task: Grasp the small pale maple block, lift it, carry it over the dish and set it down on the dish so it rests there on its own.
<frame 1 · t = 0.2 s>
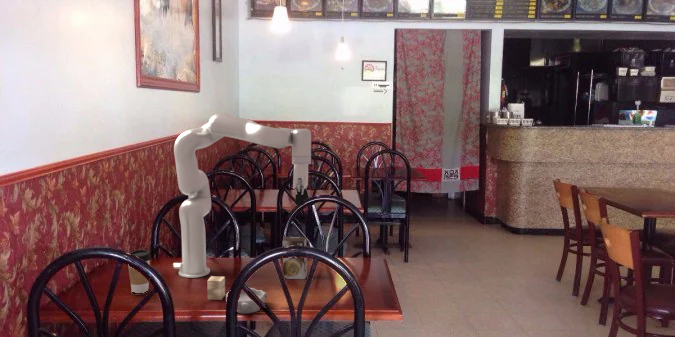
hand: (301, 202, 219), 31 cm above the table, fingers open, 9 cm apart
dish: (246, 307, 191), on the table
maple block: (216, 297, 200), on the table
coffee cup: (140, 291, 205), on the table
coffee box: (295, 277, 224), on the table
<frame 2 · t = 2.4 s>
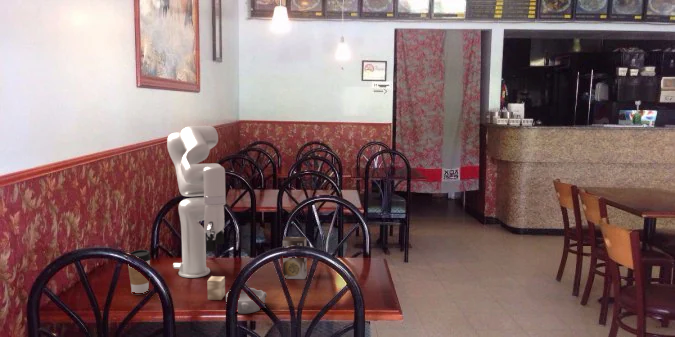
hand: (215, 247, 197), 19 cm above the table, fingers open, 9 cm apart
nothing on the table moved.
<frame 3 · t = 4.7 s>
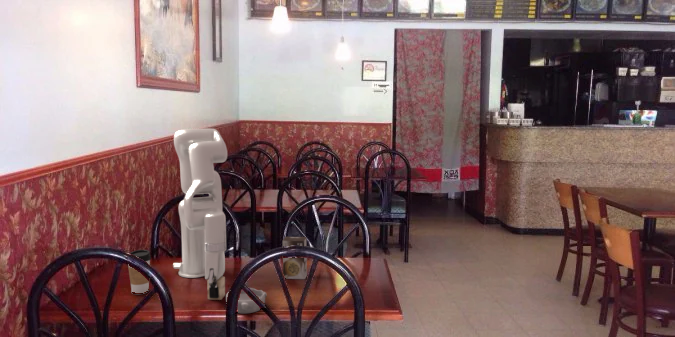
hand: (216, 294, 200), 1 cm above the table, fingers closed on maple block, 5 cm apart
maple block: (216, 297, 200), on the table, touching gripper
everything else where it was.
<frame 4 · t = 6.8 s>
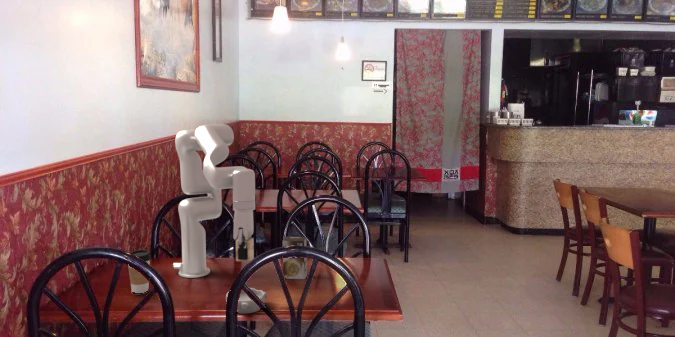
hand: (244, 256, 189), 18 cm above the table, fingers closed on maple block, 5 cm apart
maple block: (245, 259, 189), point 17 cm above the table, touching gripper
everything else where it was.
when the fingers open (7 cm above the table, at t = 9.1 s): maple block drops 2 cm, resting on dish.
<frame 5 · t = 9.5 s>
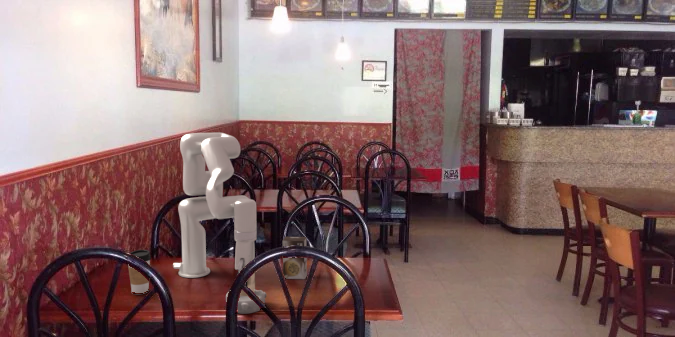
hand: (246, 283, 190), 8 cm above the table, fingers open, 9 cm apart
dish: (246, 307, 191), on the table, touching maple block
maple block: (246, 293, 190), point 5 cm above the table, touching dish
everything else where it was.
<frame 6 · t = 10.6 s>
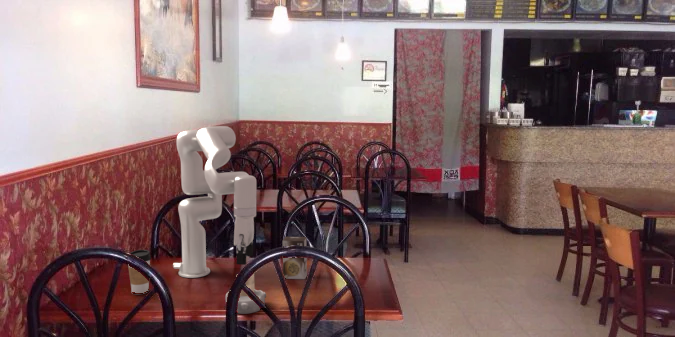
hand: (244, 259, 190), 17 cm above the table, fingers open, 9 cm apart
nothing on the table moved.
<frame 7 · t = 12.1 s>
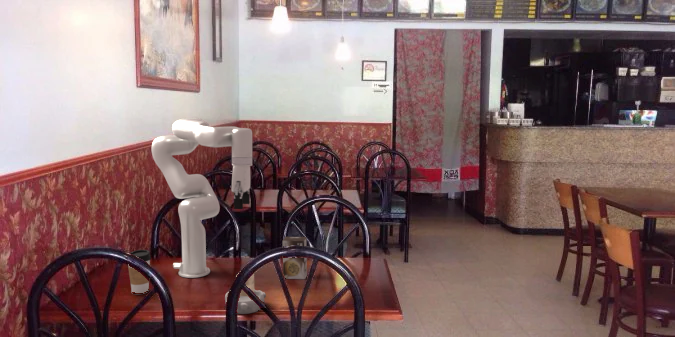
hand: (241, 206, 207), 32 cm above the table, fingers open, 9 cm apart
nothing on the table moved.
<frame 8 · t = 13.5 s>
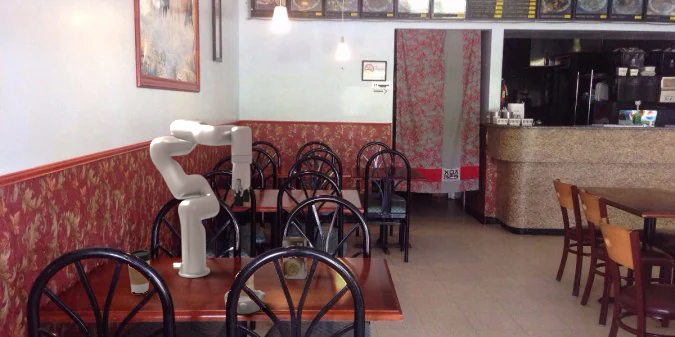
hand: (242, 204, 207), 32 cm above the table, fingers open, 9 cm apart
nothing on the table moved.
at the end: maple block 0.1 cm from the dish (horizontally); maple block touching dish; the gripper is holding nothing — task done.
